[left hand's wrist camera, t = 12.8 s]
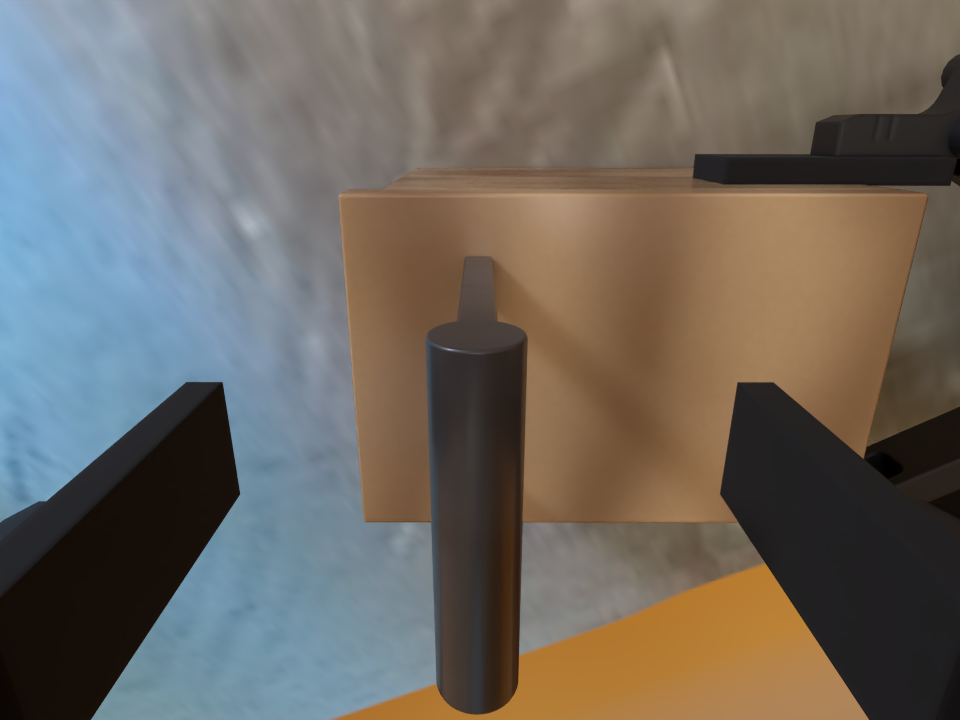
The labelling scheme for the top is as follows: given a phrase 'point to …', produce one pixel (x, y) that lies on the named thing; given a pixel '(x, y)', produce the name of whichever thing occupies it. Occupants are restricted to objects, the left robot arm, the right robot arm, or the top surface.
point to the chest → (575, 179)
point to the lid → (594, 363)
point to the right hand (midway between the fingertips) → (688, 330)
